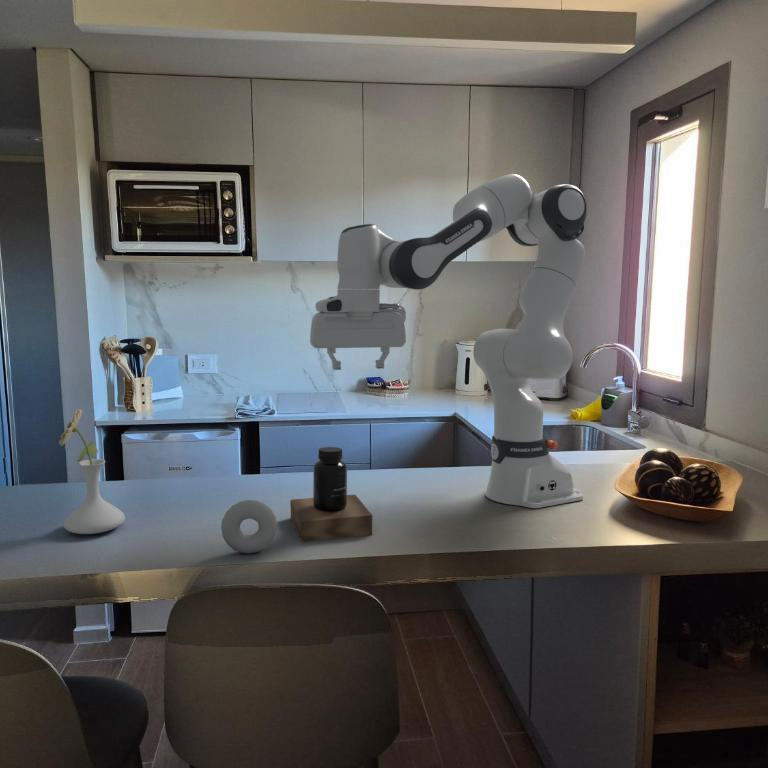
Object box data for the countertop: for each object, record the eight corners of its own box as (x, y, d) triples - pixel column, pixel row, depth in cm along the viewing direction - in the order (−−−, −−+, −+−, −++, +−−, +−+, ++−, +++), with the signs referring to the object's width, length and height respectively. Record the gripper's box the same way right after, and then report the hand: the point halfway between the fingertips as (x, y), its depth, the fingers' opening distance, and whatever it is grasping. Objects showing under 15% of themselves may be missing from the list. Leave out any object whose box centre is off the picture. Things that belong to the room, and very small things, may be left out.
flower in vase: (86, 518, 141) (79, 400, 138) (136, 521, 139) (130, 402, 136) (45, 540, 128) (36, 411, 125) (100, 544, 127) (93, 413, 123)
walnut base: (355, 512, 146) (355, 494, 145) (372, 534, 133) (372, 515, 132) (290, 518, 142) (290, 499, 141) (301, 541, 129) (301, 521, 128)
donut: (221, 558, 120) (219, 504, 119) (222, 551, 124) (220, 498, 122) (277, 554, 122) (276, 501, 121) (277, 547, 126) (276, 495, 124)
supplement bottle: (341, 513, 133) (341, 454, 131) (308, 510, 134) (308, 452, 133) (350, 502, 139) (350, 446, 138) (319, 500, 141) (318, 444, 139)
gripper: (401, 303, 147) (400, 366, 149) (308, 303, 141) (308, 368, 143) (410, 303, 141) (409, 369, 143) (313, 303, 135) (314, 372, 137)
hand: (358, 369), depth 143 cm, fingers open, 8 cm apart
